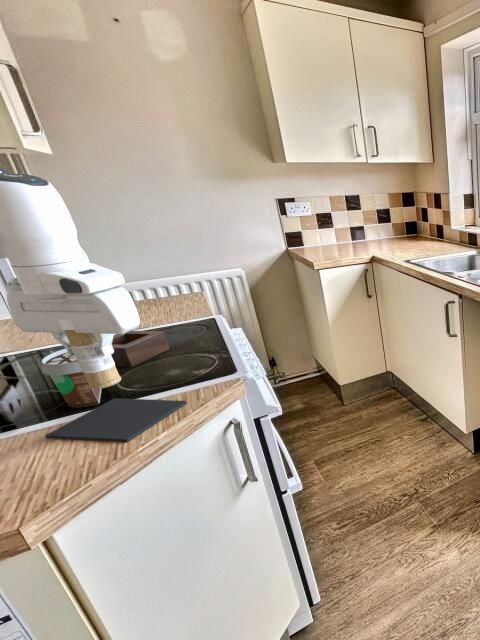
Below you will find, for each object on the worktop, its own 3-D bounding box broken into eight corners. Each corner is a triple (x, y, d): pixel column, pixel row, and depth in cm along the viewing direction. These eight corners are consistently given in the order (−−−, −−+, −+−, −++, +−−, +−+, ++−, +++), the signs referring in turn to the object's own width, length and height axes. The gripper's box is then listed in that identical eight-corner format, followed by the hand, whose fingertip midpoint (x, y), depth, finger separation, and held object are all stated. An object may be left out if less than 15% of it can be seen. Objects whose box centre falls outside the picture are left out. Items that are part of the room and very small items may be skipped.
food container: (63, 394, 90) (42, 351, 86) (102, 384, 93) (83, 343, 90) (56, 418, 81) (32, 371, 77) (98, 406, 85) (78, 362, 81)
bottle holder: (91, 365, 103) (82, 347, 101) (132, 347, 113) (125, 330, 111) (132, 367, 102) (124, 348, 100) (170, 348, 112) (163, 331, 110)
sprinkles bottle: (106, 378, 80) (77, 310, 74) (128, 378, 79) (100, 311, 74) (82, 390, 75) (48, 319, 70) (105, 390, 75) (73, 319, 70)
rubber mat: (46, 438, 75) (44, 435, 75) (115, 400, 87) (114, 398, 87) (127, 442, 74) (126, 439, 73) (187, 403, 85) (186, 400, 85)
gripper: (-21, 282, 68) (19, 360, 73) (94, 283, 66) (127, 363, 71) (24, 273, 73) (59, 345, 79) (131, 274, 72) (159, 348, 77)
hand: (92, 354), depth 75 cm, fingers closed on sprinkles bottle, 4 cm apart
